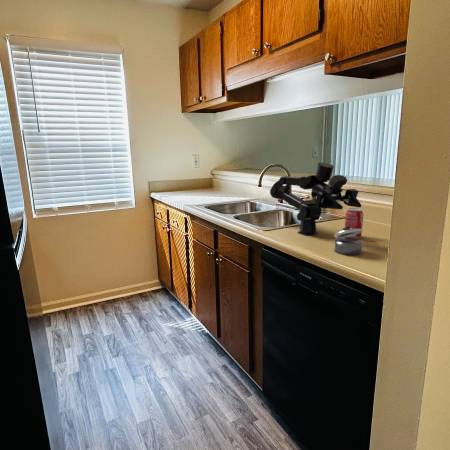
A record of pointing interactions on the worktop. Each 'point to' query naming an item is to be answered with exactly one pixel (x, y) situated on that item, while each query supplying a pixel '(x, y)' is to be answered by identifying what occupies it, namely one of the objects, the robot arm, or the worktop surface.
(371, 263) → the worktop surface
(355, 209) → the soda can
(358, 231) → the cooker lid
